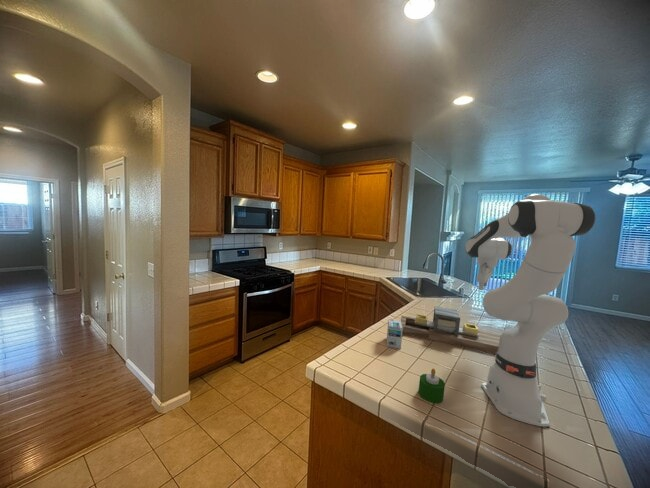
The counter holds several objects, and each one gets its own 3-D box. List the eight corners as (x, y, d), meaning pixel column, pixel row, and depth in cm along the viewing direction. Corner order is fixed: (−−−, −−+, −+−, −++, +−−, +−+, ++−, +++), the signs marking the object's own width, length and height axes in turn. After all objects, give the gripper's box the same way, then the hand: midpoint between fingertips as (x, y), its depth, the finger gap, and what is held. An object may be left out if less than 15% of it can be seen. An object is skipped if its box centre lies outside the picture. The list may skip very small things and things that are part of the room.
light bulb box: (401, 349, 124) (403, 328, 123) (386, 347, 125) (389, 325, 124) (399, 339, 135) (401, 320, 134) (386, 337, 136) (388, 318, 135)
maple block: (454, 333, 139) (455, 322, 138) (436, 329, 142) (437, 318, 141) (453, 329, 144) (454, 318, 144) (435, 325, 147) (436, 315, 147)
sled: (478, 338, 133) (479, 330, 133) (414, 325, 145) (415, 318, 144) (475, 332, 141) (476, 324, 141) (414, 320, 153) (415, 313, 152)
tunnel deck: (512, 357, 124) (516, 329, 123) (398, 332, 144) (400, 308, 142) (502, 342, 141) (505, 317, 140) (401, 321, 160) (403, 300, 159)
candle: (430, 405, 86) (434, 377, 85) (413, 390, 93) (416, 364, 93) (448, 400, 89) (451, 373, 88) (430, 385, 97) (433, 360, 96)
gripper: (490, 266, 120) (485, 294, 122) (497, 260, 135) (493, 285, 138) (475, 263, 124) (471, 290, 126) (483, 258, 139) (479, 282, 142)
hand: (482, 287), depth 132 cm, fingers open, 8 cm apart
